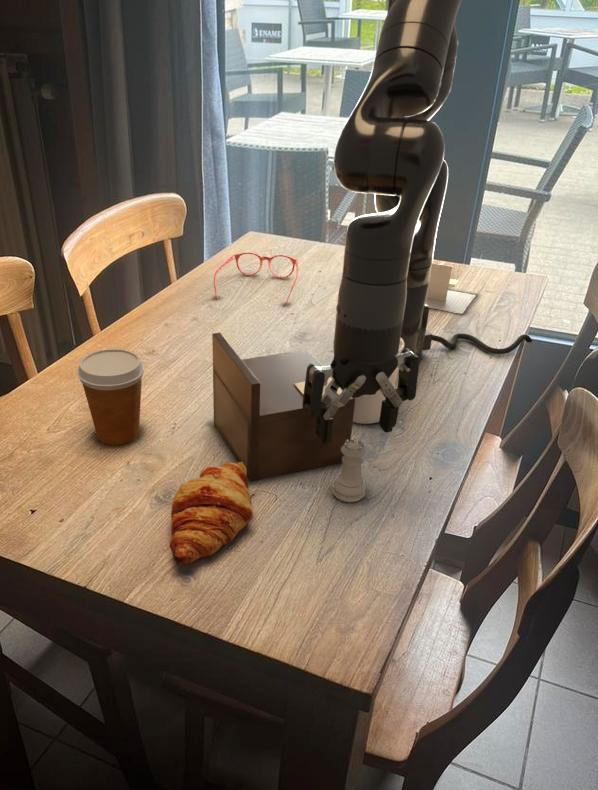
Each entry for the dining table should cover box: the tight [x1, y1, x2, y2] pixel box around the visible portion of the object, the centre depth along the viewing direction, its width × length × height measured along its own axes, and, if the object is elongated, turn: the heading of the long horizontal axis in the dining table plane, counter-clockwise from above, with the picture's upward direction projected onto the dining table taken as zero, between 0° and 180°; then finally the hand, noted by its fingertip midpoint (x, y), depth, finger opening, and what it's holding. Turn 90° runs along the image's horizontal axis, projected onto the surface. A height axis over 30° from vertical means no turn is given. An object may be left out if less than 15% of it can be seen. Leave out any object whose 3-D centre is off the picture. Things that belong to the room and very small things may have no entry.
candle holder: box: [353, 338, 404, 425], centre depth 111 cm, size 10×10×12 cm
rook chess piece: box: [331, 438, 367, 503], centre depth 95 cm, size 4×4×8 cm
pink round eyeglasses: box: [213, 252, 299, 306], centre depth 155 cm, size 17×16×5 cm
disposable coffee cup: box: [76, 347, 146, 446], centre depth 105 cm, size 10×10×12 cm
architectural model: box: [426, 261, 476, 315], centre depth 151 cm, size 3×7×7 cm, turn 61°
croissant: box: [169, 461, 254, 565], centre depth 91 cm, size 21×10×8 cm, turn 162°
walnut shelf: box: [211, 332, 355, 482], centre depth 103 cm, size 15×16×15 cm
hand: (355, 435), depth 91 cm, fingers open, 8 cm apart
